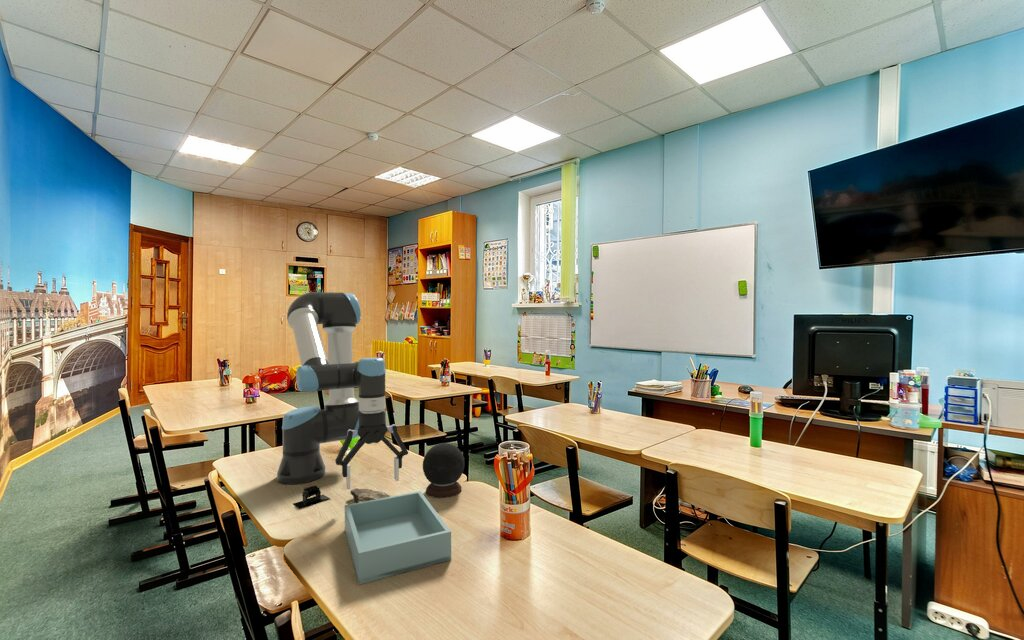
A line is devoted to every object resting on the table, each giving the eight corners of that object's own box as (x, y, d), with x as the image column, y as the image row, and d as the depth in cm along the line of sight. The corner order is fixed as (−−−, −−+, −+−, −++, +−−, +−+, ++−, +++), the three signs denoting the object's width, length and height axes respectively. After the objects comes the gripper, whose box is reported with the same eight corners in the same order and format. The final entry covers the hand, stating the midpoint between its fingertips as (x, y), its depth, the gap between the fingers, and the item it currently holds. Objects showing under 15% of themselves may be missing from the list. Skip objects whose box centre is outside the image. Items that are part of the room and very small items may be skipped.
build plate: (294, 513, 125) (294, 497, 125) (284, 506, 129) (284, 491, 129) (337, 500, 134) (337, 485, 134) (326, 493, 139) (326, 479, 139)
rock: (410, 502, 132) (410, 490, 132) (390, 517, 121) (390, 505, 121) (357, 495, 137) (357, 483, 137) (334, 509, 127) (334, 497, 127)
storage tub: (344, 530, 114) (344, 505, 114) (420, 514, 123) (420, 491, 123) (358, 584, 90) (358, 553, 90) (451, 559, 100) (451, 531, 100)
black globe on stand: (414, 495, 136) (414, 447, 136) (437, 480, 148) (436, 436, 148) (451, 502, 131) (451, 452, 131) (471, 486, 143) (471, 440, 143)
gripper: (327, 417, 119) (327, 496, 119) (417, 408, 131) (418, 480, 130) (325, 413, 126) (325, 486, 126) (411, 404, 137) (412, 472, 137)
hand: (373, 483), depth 128 cm, fingers open, 13 cm apart
